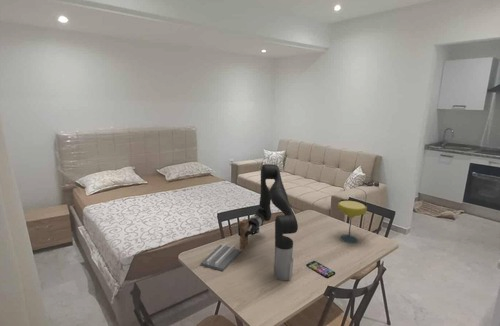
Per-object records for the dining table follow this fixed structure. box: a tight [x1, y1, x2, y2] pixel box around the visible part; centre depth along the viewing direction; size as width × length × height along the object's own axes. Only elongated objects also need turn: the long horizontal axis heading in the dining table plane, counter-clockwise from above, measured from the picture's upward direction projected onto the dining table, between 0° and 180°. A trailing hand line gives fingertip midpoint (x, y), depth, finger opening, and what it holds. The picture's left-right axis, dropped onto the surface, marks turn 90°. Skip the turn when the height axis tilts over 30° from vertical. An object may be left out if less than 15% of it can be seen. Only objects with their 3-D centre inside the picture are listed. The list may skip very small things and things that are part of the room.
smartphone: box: [305, 260, 336, 279], centre depth 153 cm, size 8×1×15 cm
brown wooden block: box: [239, 218, 249, 250], centre depth 159 cm, size 3×5×16 cm, turn 157°
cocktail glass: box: [337, 199, 368, 244], centre depth 186 cm, size 18×18×25 cm
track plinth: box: [200, 242, 241, 272], centre depth 162 cm, size 14×22×4 cm, turn 157°
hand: (242, 234), depth 156 cm, fingers closed on brown wooden block, 3 cm apart
